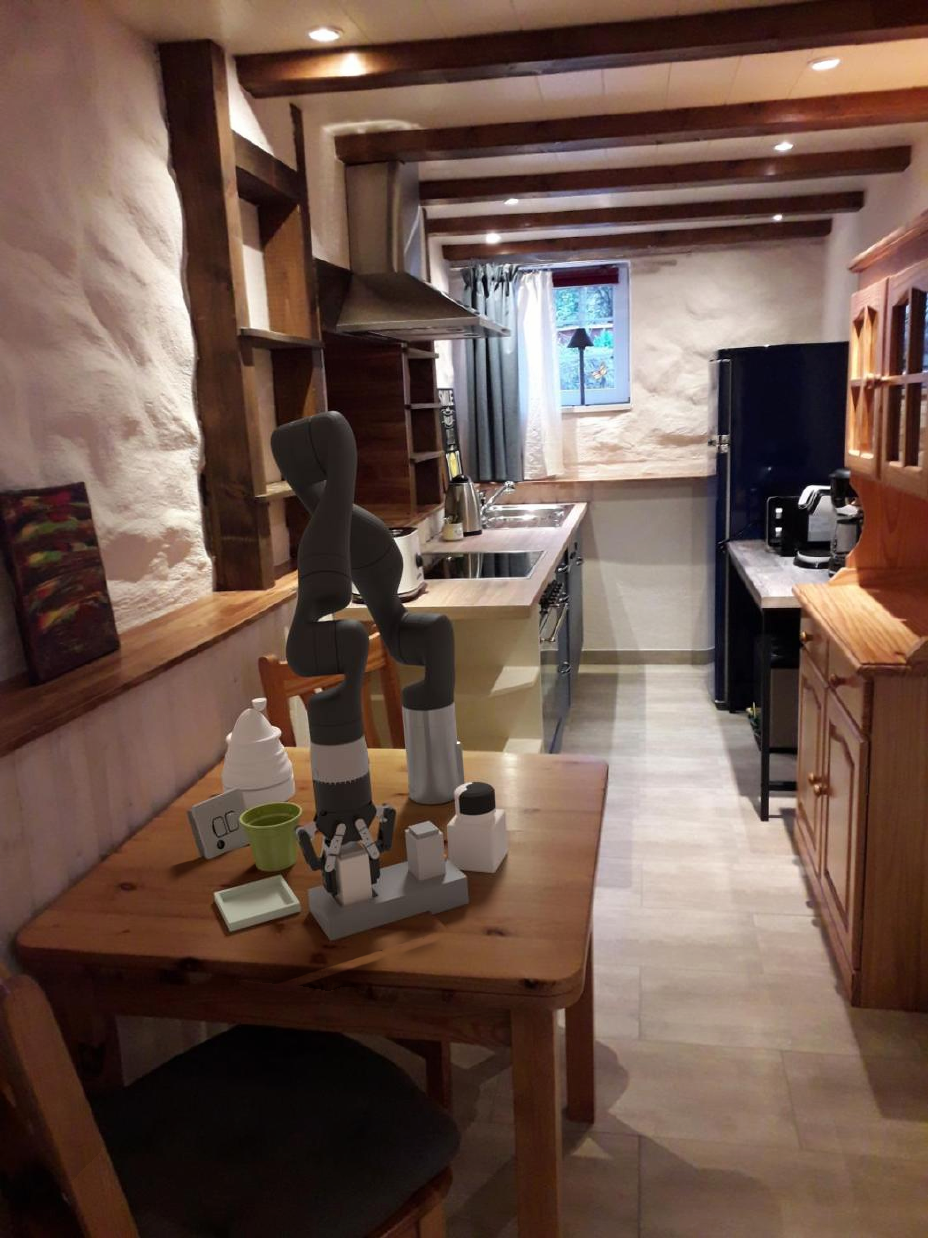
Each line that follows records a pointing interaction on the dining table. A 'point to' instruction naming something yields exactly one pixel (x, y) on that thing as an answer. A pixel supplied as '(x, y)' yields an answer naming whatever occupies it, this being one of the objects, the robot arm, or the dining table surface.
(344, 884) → the plug
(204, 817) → the electrical switch
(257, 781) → the honey pot
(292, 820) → the plant pot
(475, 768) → the dining table surface
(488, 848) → the medicine bottle
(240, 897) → the tray
